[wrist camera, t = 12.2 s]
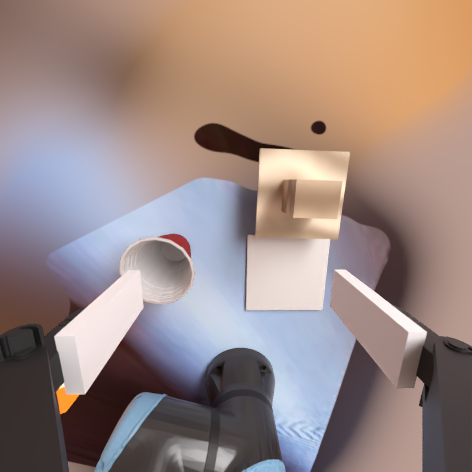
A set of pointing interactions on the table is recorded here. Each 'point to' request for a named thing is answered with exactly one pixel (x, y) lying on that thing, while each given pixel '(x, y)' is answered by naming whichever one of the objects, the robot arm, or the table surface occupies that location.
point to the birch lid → (300, 193)
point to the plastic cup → (161, 267)
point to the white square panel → (286, 273)
